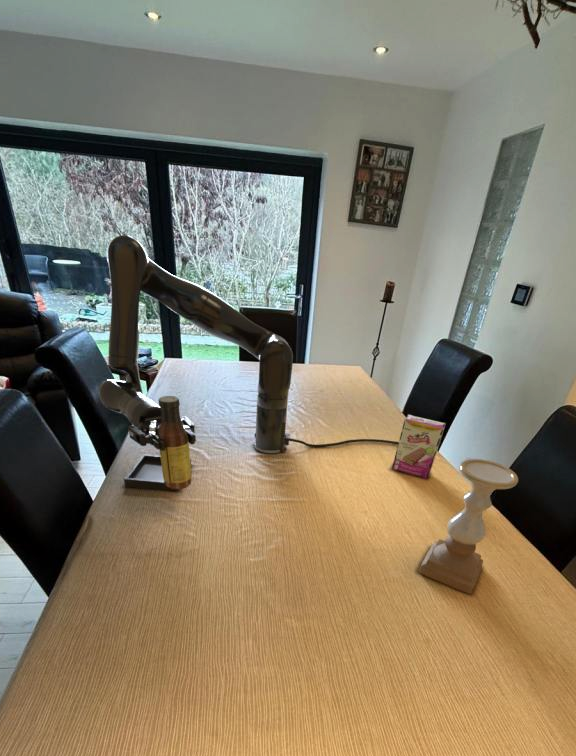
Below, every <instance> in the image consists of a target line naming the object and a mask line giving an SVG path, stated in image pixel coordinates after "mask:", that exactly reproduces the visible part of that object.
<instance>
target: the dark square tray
mask: <svg viewBox="0 0 576 756" xmlns="http://www.w3.org/2000/svg"><path fill="white" fill-rule="evenodd" d="M190 464H191V465H192V458H190ZM123 481H124V487H125V488H134V489H146V490H157V491H158V490H159V491H168V492H169V491H170V492H179V490H180V489H172V488H169V487H167V486H166V485H165V482H164V479H163V472H162V464H161V457H160V455H155V454H146V453H142V455H141V456H140V457H139V459H138V460H137V461H136V462H135V464H134V465H133V467H132V468H131V469H130V470H129V472H128V473H127V474H126V475H125V477H123Z"/></svg>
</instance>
